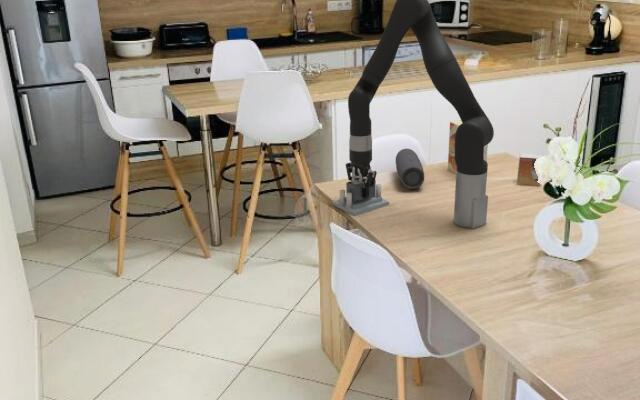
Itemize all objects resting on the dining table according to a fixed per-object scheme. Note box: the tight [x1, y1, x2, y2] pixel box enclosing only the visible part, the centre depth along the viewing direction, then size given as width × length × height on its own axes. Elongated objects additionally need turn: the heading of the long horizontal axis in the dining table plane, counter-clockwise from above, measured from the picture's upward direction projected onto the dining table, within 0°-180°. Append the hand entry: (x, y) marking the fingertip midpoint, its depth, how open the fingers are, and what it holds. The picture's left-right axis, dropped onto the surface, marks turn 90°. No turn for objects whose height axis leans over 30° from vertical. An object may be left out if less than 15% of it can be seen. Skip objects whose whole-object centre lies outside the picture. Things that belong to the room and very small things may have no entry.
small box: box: [516, 152, 543, 187], centre depth 233 cm, size 8×6×10 cm
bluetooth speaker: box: [395, 148, 425, 190], centre depth 238 cm, size 23×9×10 cm, turn 179°
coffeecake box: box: [447, 119, 489, 175], centre depth 242 cm, size 15×7×20 cm, turn 25°
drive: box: [345, 177, 377, 203], centre depth 217 cm, size 4×9×6 cm, turn 126°
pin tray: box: [332, 183, 390, 216], centre depth 218 cm, size 12×15×6 cm
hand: (360, 195), depth 218 cm, fingers closed on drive, 4 cm apart
